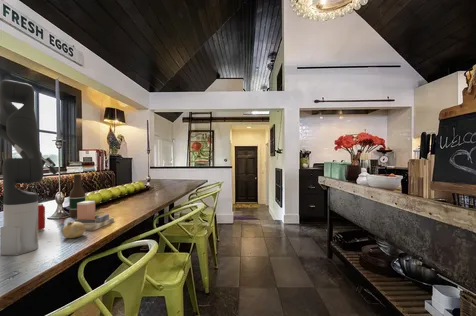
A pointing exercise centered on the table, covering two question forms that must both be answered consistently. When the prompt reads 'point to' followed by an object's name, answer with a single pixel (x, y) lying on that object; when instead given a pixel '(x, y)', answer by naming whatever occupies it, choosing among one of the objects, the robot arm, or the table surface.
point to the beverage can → (41, 217)
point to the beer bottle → (76, 196)
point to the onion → (73, 229)
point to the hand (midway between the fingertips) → (48, 173)
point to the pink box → (86, 210)
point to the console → (96, 222)
